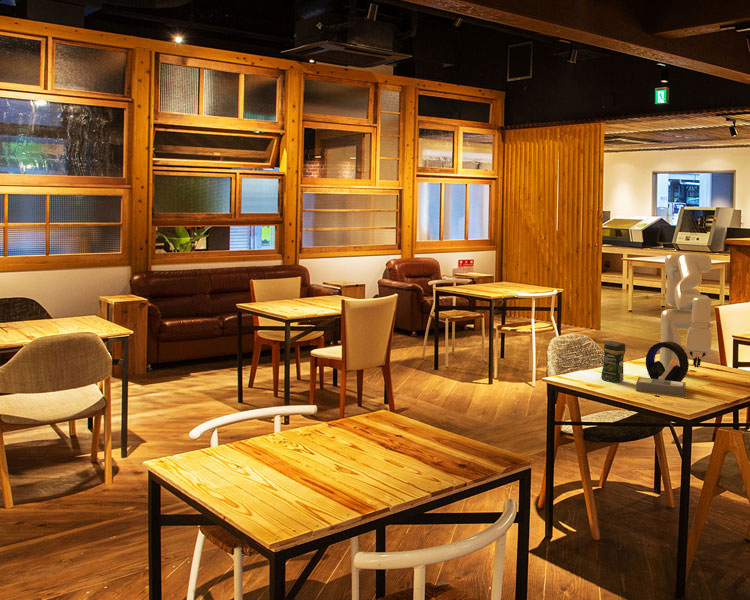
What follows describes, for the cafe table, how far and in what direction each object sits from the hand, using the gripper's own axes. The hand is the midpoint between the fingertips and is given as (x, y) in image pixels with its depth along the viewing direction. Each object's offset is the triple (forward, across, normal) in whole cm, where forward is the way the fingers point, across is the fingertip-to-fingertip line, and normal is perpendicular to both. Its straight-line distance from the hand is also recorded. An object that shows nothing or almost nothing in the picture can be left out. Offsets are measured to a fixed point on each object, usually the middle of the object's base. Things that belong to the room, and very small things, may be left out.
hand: (696, 366), depth 338 cm
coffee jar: (+13, +36, -10) cm, 39 cm away
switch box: (+13, +14, 0) cm, 19 cm away
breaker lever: (+7, +14, 0) cm, 16 cm away
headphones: (+13, +13, -14) cm, 23 cm away
